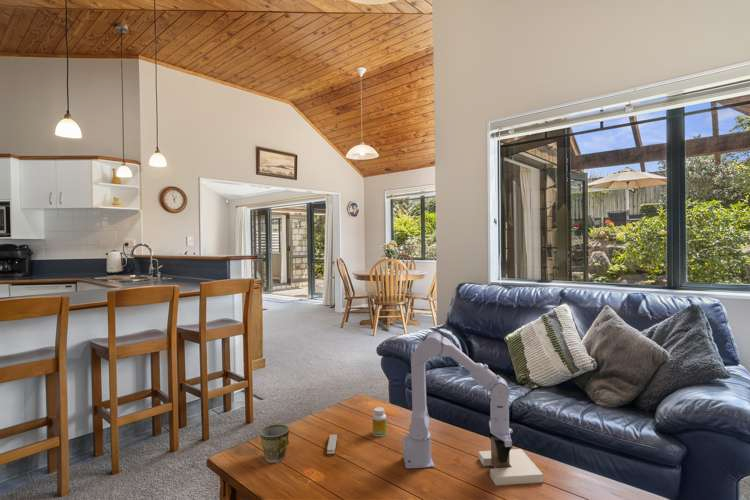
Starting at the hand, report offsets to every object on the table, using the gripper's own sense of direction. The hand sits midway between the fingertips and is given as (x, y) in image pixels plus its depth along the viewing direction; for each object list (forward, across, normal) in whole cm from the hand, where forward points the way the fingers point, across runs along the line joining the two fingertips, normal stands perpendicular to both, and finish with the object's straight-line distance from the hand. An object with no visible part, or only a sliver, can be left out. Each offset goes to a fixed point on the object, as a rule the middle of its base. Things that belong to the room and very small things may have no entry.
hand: (500, 458), depth 133 cm
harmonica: (+5, +23, +55) cm, 60 cm away
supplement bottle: (+4, +30, +37) cm, 48 cm away
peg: (+3, 0, 0) cm, 3 cm away
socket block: (+4, 0, -3) cm, 5 cm away
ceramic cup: (+4, +15, +74) cm, 75 cm away
